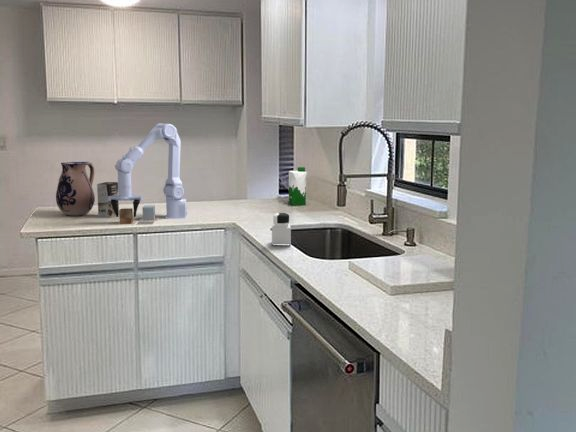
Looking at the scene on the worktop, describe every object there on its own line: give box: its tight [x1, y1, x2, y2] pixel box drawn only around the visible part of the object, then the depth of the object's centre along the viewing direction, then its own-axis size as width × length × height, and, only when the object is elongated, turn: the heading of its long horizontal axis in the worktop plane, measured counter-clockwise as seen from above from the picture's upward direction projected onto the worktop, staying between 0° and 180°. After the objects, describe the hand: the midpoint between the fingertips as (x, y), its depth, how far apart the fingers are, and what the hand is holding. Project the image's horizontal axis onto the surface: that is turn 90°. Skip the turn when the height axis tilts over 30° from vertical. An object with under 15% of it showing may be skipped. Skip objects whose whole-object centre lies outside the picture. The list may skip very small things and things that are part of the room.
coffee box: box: [96, 181, 120, 219], centre depth 279 cm, size 9×6×16 cm
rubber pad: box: [135, 220, 155, 226], centre depth 265 cm, size 7×7×1 cm
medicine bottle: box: [271, 212, 292, 245], centre depth 227 cm, size 7×7×12 cm
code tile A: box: [115, 220, 138, 226], centre depth 265 cm, size 8×8×1 cm
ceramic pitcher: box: [55, 161, 96, 217], centre depth 285 cm, size 18×21×25 cm
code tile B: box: [139, 217, 159, 222], centre depth 273 cm, size 8×8×1 cm
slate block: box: [142, 204, 156, 220], centre depth 272 cm, size 5×5×6 cm
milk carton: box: [288, 166, 308, 207], centre depth 316 cm, size 9×9×20 cm
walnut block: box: [118, 207, 134, 225], centre depth 264 cm, size 5×5×6 cm
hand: (126, 216), depth 264 cm, fingers open, 7 cm apart
